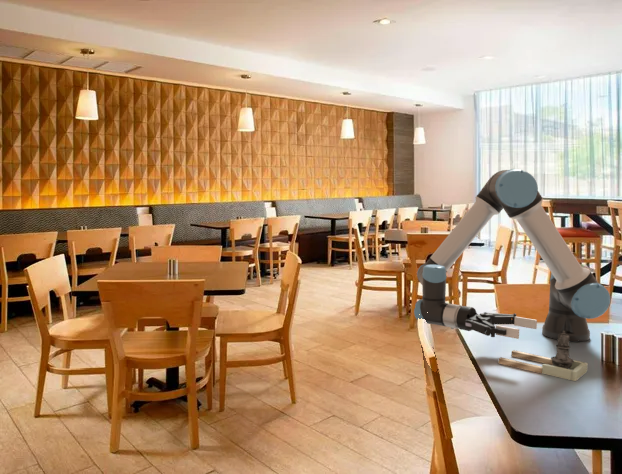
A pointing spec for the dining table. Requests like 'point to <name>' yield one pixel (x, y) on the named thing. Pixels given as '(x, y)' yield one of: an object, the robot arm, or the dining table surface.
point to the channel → (526, 365)
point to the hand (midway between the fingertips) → (527, 329)
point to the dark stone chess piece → (562, 352)
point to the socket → (566, 370)
